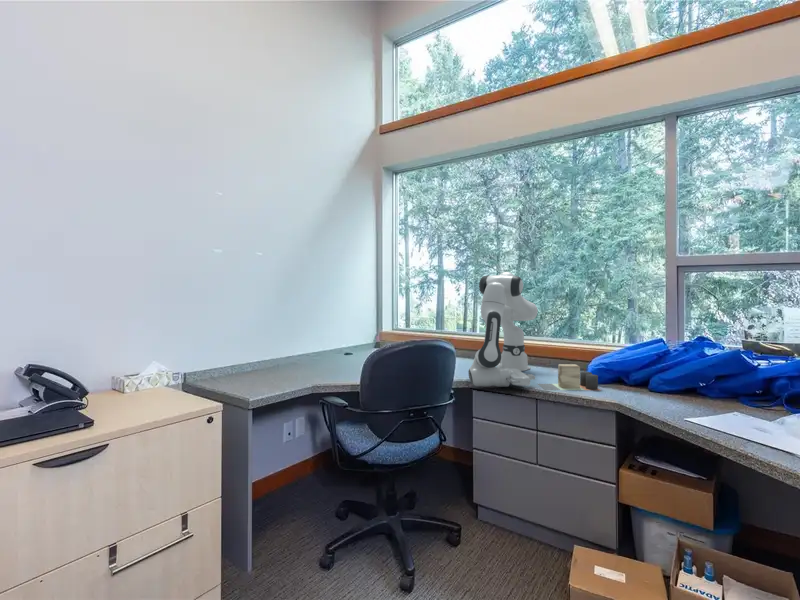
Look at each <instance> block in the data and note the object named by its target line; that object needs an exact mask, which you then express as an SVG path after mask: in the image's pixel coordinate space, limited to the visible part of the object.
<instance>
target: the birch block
mask: <svg viewBox="0 0 800 600" xmlns="http://www.w3.org/2000/svg"><path fill="white" fill-rule="evenodd" d="M557 366H558V368H557V384H558V386H559V387H561V388H580V372H581V365H578V364H572V363H571V364H566V363H565V364H561V363H559V364H558V365H557Z"/></svg>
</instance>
